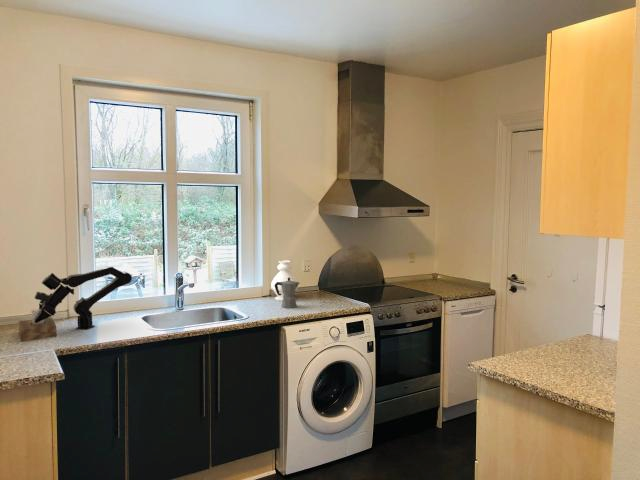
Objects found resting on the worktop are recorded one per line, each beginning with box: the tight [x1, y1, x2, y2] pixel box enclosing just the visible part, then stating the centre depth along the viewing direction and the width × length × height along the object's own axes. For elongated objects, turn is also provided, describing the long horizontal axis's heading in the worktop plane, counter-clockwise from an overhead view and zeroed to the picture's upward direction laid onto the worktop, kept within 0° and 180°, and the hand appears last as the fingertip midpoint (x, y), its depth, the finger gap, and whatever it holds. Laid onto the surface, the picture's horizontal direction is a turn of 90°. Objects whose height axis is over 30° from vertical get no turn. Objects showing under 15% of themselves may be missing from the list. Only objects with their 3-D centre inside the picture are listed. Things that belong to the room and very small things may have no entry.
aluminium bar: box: [30, 308, 44, 325], centre depth 247 cm, size 5×5×10 cm
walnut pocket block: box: [17, 316, 57, 342], centre depth 247 cm, size 15×20×6 cm
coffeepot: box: [275, 278, 300, 309], centre depth 305 cm, size 15×9×18 cm, turn 103°
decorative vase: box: [270, 259, 299, 301], centre depth 330 cm, size 18×18×25 cm
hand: (34, 320), depth 246 cm, fingers open, 9 cm apart
